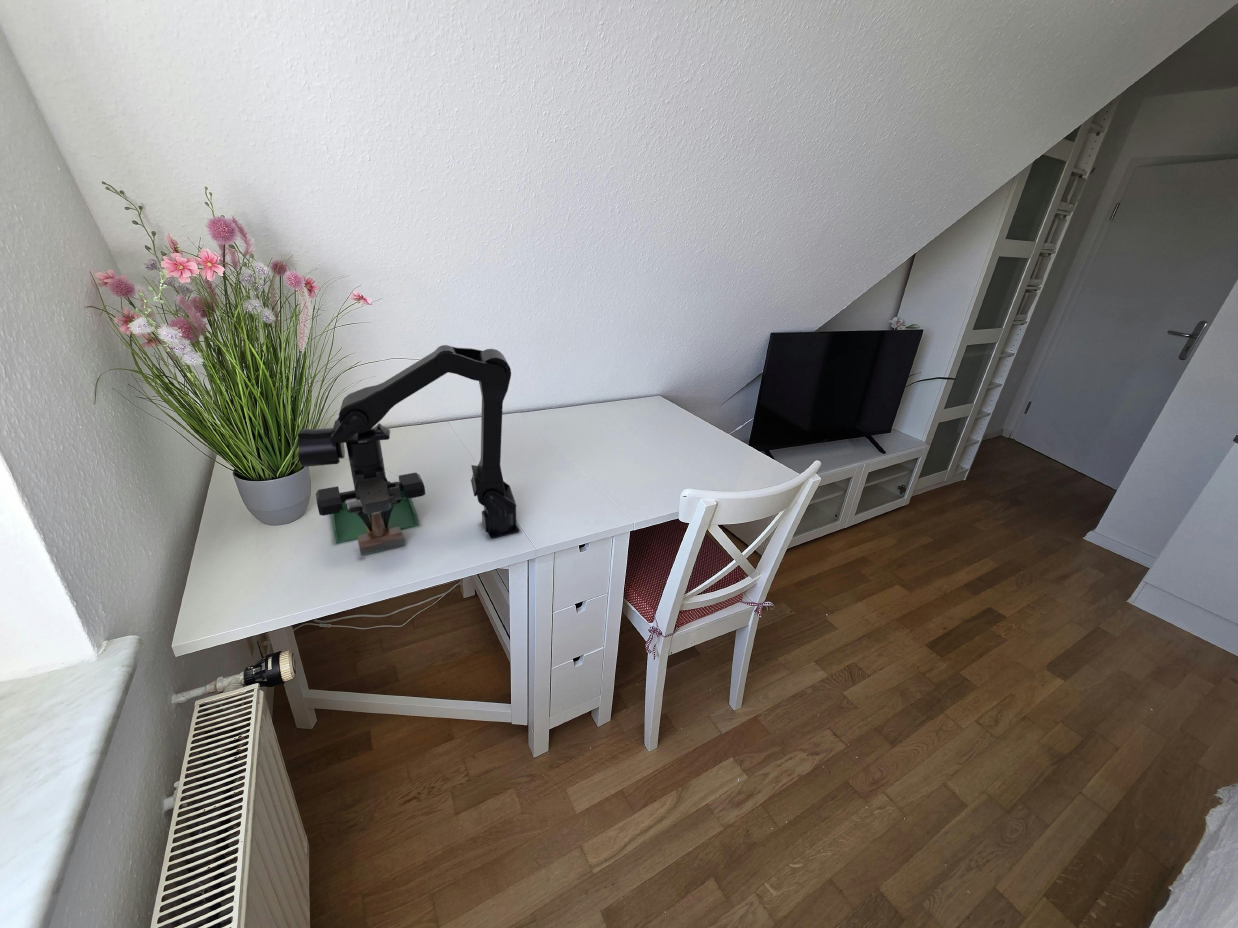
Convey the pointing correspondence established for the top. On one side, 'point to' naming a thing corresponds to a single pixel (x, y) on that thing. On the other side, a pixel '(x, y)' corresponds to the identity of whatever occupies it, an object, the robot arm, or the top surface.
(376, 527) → the brush
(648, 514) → the top surface
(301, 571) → the top surface
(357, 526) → the dustpan
